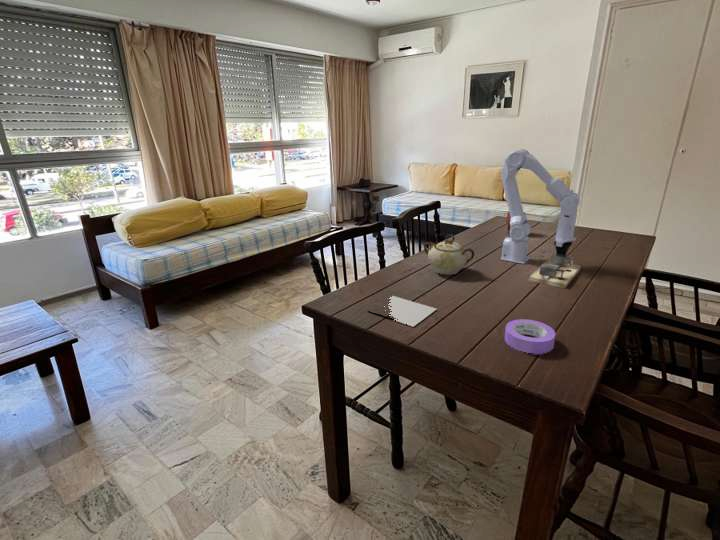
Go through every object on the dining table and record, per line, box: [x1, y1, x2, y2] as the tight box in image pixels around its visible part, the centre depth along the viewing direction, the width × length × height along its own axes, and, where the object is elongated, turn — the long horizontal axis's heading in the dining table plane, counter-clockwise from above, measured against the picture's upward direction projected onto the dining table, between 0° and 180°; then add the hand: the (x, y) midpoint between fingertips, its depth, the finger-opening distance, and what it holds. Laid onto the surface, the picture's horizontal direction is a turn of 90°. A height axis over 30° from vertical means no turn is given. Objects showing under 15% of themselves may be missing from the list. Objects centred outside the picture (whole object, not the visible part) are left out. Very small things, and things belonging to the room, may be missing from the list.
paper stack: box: [384, 295, 437, 328], centre depth 117 cm, size 23×25×1 cm
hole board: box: [528, 259, 582, 289], centre depth 140 cm, size 12×23×5 cm, turn 140°
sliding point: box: [550, 252, 575, 266], centre depth 144 cm, size 8×3×3 cm, turn 50°
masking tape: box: [504, 318, 556, 355], centre depth 97 cm, size 12×12×4 cm
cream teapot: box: [423, 233, 475, 276], centre depth 144 cm, size 20×15×15 cm
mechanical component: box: [504, 210, 526, 234], centre depth 193 cm, size 12×10×10 cm
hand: (560, 259), depth 147 cm, fingers closed
